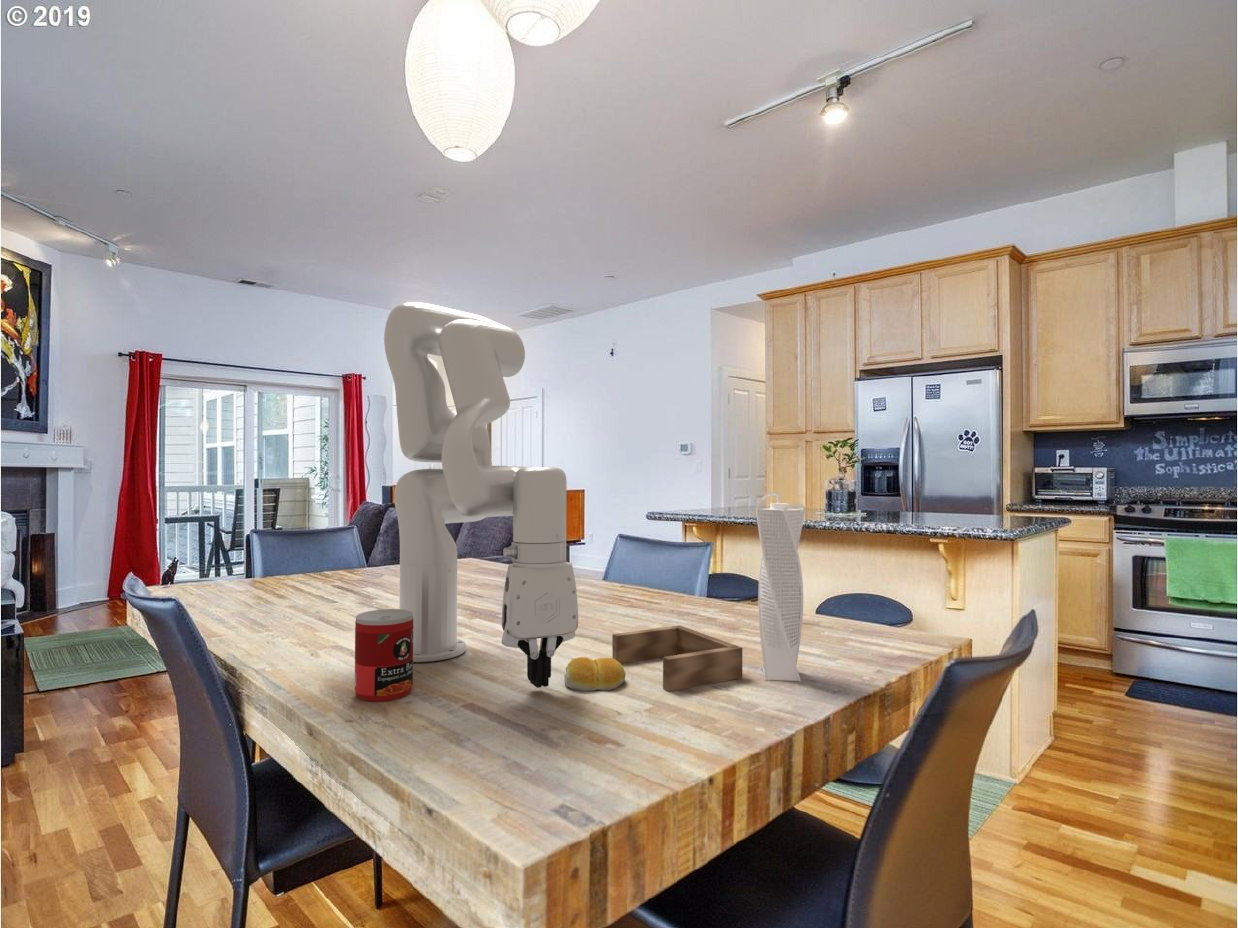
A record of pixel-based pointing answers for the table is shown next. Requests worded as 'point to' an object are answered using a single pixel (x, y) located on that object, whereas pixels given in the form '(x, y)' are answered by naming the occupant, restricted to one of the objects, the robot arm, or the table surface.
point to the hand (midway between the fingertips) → (539, 684)
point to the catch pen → (681, 655)
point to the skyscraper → (780, 588)
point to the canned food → (383, 654)
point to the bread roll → (594, 674)
